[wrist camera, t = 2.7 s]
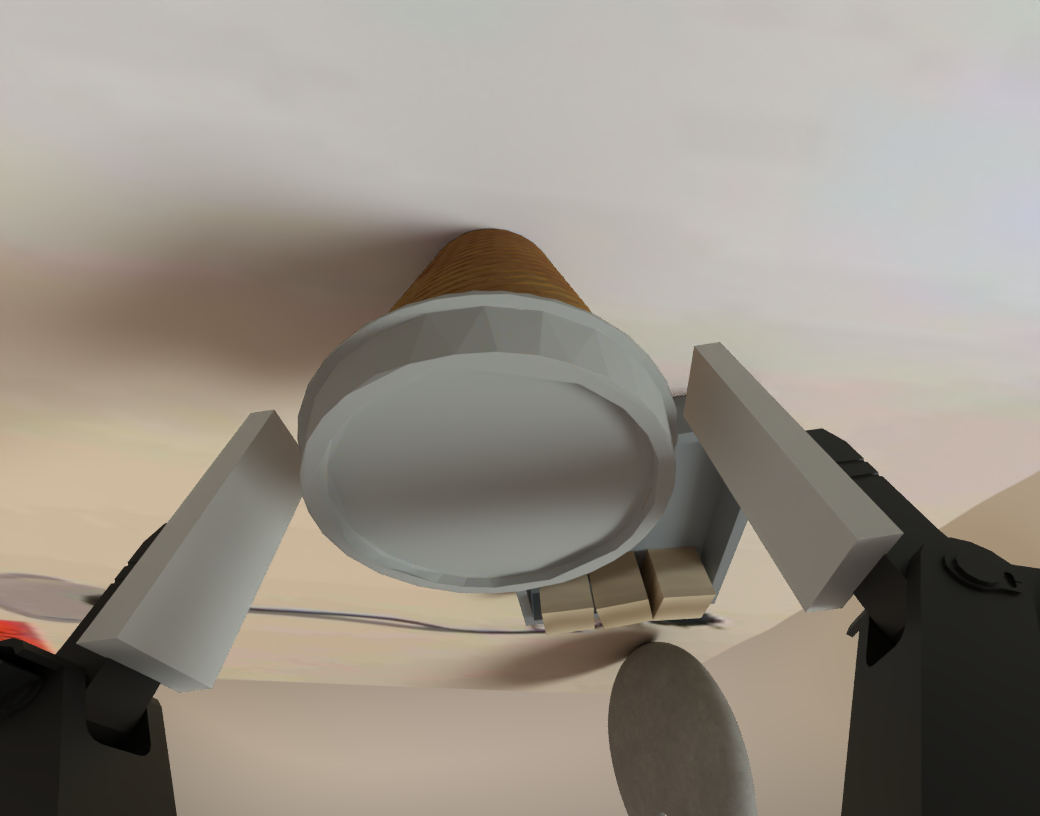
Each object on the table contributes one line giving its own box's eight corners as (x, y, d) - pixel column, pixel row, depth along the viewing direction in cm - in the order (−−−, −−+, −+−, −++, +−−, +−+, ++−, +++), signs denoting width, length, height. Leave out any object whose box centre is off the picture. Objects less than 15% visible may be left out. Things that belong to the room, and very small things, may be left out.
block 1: (536, 564, 33) (541, 613, 30) (584, 558, 33) (593, 607, 30) (541, 587, 35) (546, 634, 32) (585, 581, 35) (594, 628, 32)
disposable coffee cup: (427, 393, 22) (380, 618, 13) (353, 210, 16) (159, 380, 7) (597, 364, 21) (679, 577, 12) (586, 162, 15) (734, 275, 6)
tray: (478, 424, 24) (476, 461, 21) (758, 385, 23) (788, 419, 20) (524, 592, 37) (526, 625, 35) (700, 570, 36) (714, 603, 34)
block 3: (647, 549, 32) (664, 597, 29) (694, 546, 33) (716, 594, 29) (638, 573, 35) (652, 620, 32) (682, 571, 35) (700, 617, 32)
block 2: (586, 560, 33) (596, 609, 30) (633, 550, 32) (648, 599, 29) (594, 582, 35) (604, 629, 32) (638, 573, 35) (653, 620, 32)
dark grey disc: (623, 675, 54) (671, 890, 40) (579, 670, 52) (613, 896, 37) (716, 619, 44) (828, 881, 29) (666, 610, 42) (760, 889, 27)
